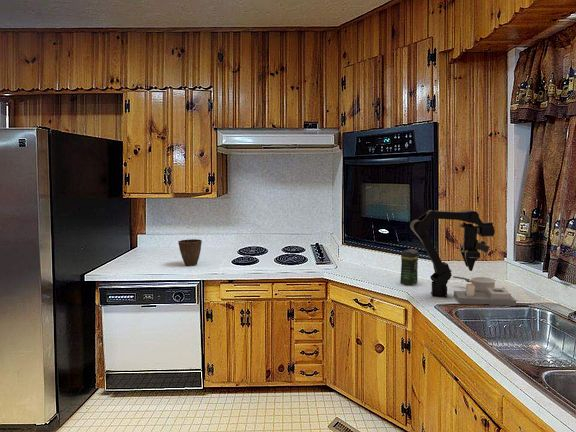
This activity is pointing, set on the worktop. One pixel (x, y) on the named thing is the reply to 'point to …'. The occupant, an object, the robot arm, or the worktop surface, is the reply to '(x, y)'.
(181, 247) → the plant pot
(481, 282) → the saucepan
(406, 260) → the coffee jar
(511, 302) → the jack panel
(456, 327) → the worktop surface
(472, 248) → the robot arm
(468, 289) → the plug
